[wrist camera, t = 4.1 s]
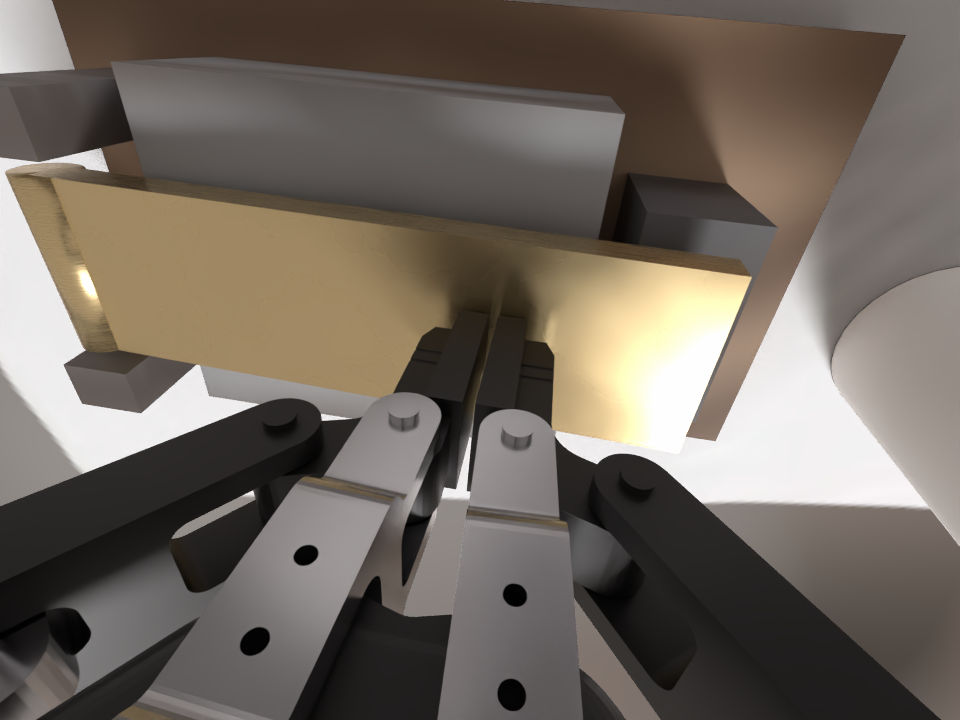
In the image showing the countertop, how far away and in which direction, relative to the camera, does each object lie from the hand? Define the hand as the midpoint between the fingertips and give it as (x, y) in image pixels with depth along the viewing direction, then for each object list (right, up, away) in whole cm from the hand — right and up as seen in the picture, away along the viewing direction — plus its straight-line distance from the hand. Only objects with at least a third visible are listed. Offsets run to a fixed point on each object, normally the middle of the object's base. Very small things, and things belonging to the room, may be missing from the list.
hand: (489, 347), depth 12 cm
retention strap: (-3, +1, +1) cm, 4 cm away
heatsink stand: (-1, +5, +8) cm, 9 cm away
